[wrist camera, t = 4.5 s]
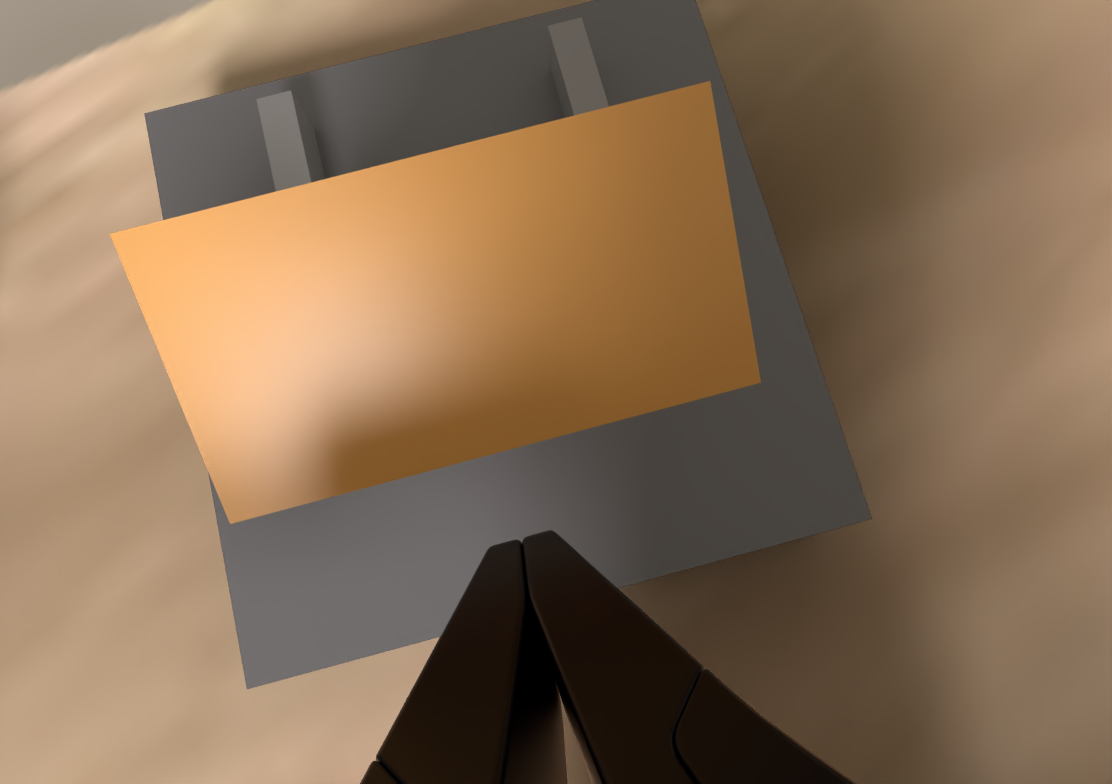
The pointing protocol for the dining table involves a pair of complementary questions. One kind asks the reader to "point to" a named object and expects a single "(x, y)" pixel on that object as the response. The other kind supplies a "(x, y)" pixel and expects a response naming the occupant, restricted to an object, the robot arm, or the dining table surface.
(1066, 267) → the dining table surface
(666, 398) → the lever
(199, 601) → the dining table surface
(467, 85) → the box
